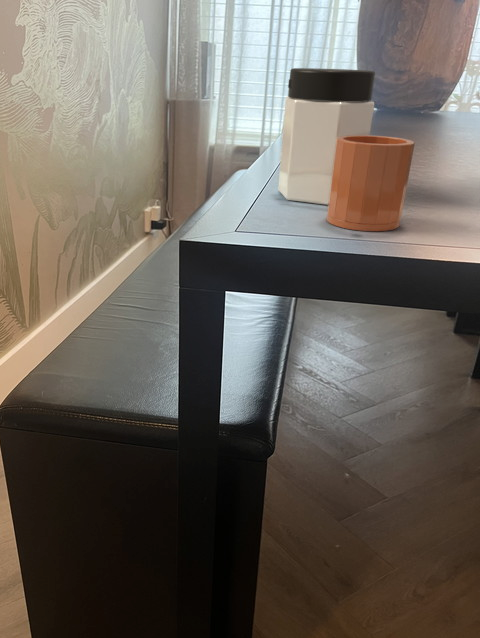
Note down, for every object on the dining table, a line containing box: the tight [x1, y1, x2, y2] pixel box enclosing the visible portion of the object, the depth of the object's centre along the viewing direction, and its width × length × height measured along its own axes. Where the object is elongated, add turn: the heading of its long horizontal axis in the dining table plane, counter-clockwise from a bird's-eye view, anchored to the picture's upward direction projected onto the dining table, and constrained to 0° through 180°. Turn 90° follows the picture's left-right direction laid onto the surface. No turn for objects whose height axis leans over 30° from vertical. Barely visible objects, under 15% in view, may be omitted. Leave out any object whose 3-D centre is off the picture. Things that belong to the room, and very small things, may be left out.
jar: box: [277, 67, 376, 206], centre depth 61 cm, size 9×8×12 cm
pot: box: [326, 134, 416, 232], centre depth 53 cm, size 6×6×7 cm
